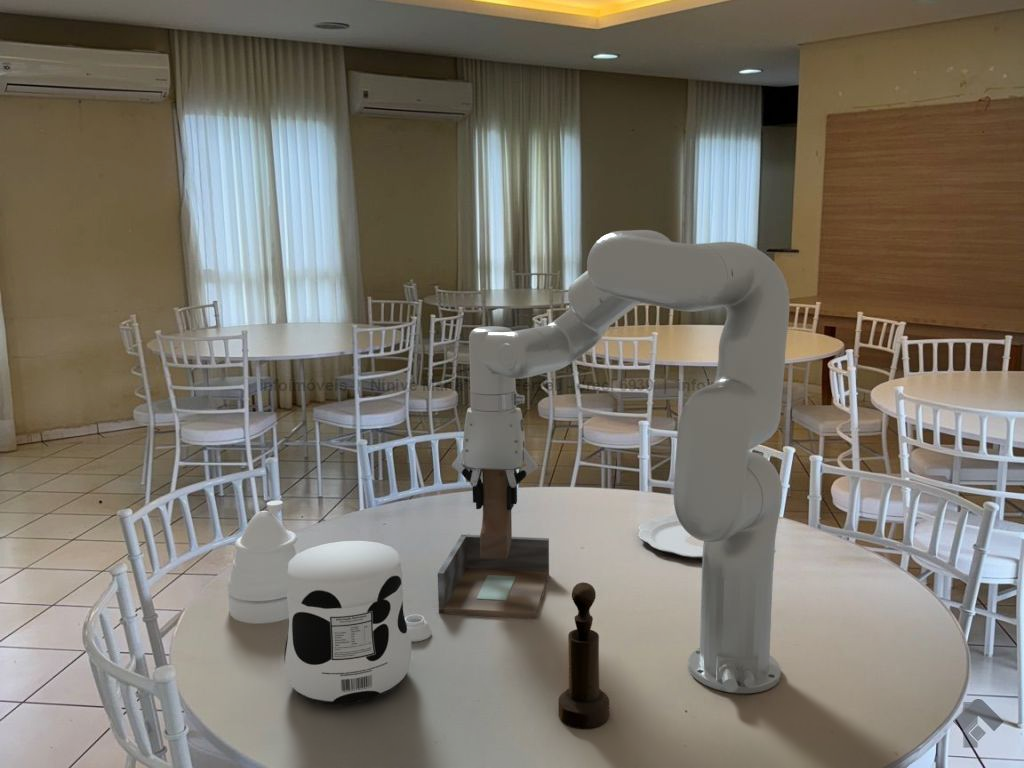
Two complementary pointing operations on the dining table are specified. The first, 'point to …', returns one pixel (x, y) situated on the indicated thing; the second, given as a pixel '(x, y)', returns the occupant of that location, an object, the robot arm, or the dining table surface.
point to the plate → (668, 537)
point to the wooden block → (495, 516)
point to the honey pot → (261, 569)
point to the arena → (494, 579)
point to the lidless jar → (417, 628)
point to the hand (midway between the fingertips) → (495, 506)
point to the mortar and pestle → (583, 669)
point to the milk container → (346, 622)
